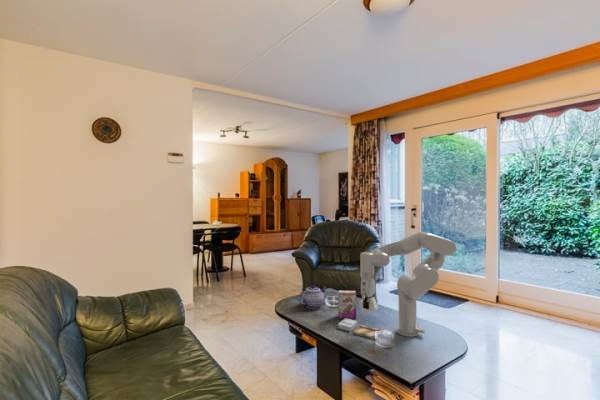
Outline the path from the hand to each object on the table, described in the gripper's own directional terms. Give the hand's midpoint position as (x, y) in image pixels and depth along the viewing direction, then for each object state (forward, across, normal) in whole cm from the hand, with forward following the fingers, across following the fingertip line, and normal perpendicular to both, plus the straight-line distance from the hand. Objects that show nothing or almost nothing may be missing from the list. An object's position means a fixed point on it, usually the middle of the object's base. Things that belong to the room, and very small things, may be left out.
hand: (367, 306), depth 167 cm
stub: (+1, 0, -2) cm, 2 cm away
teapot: (+15, +18, +47) cm, 53 cm away
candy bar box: (+15, +14, +19) cm, 28 cm away
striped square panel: (+15, +2, +13) cm, 20 cm away
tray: (+15, 0, 0) cm, 15 cm away
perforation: (+15, -5, +13) cm, 20 cm away
